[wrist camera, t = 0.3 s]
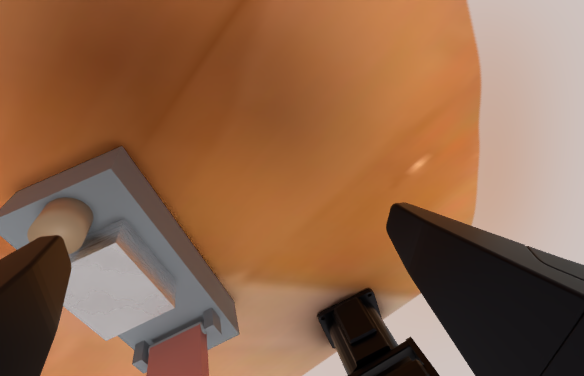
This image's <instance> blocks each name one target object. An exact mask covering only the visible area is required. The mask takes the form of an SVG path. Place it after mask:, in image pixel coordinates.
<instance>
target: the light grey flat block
mask: <svg viewBox="0 0 584 376" xmlns="http://www.w3.org/2000/svg"><path fill="white" fill-rule="evenodd" d="M69 257H70V261H71V274H70V278H69V283H68V287H67V291H66V295H65V299H64V304H63V306H64V307H65V308H66V309H67V310H69V311H70V312H71V313H72V314H74V315H75V316H76V317H77V318H79V319H80V320H81V321H82V322H83V323H85V324H86V325H87V326H88V327H90V328H91V329H92V330H93V331H94V332H96V333H97V334H98V335H99V336H101V337H102V338H103V339H104V340H106V341H107V340H109V339H111V338H113V337H115V336H118V335H120V334H122V333H124V332H126V331H128V330H130V329H132V328H134V327H136V326H138V325H140V324H143V323H145V322H147V321H149V320H151V319H153V318H155V317H157V316H159V315H161V314H163V313H165V312H168V311H170V310H172V309H174V308H175V295H176V280H175V279H174V278H173V277H172V275H171V274H170V273H169V272H168V271H167V269H166V268H165V267H164V266H163V265H162V263H161V262H160V261H159V260H158V259H157V257H156V256H155V255H154V254H153V253H152V251H151V250H150V249H149V248H148V247H147V245H146V244H145V243H144V242H143V241H142V239H141V238H140V237H139V236H138V235H137V234H136V232H135V231H134V230H133V229H132V228H131V226H130V225H129V224H128V223H127V222H126V220H125V219H124V218H122V219H120V220H118V221H116V222H114V223H111V224H109V225H107V226H105V227H103V228H100V229H98V230H96V231H94V232H92V233H89V234H87V235H86V238H85V240H84V242H83V244H82V246H81V247H80V248H79V249H78V250H77V251H75V252H74V253H71V254H69Z"/></svg>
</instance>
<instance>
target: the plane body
mask: <svg viewBox="0 0 584 376" xmlns="http://www.w3.org/2000/svg"><path fill="white" fill-rule="evenodd" d="M122 218H124V219H125V220H126V222H127V223H128V224H129V225H130V226H131V228H132V229H133V230H134V231H135V232H136V234H137V235H138V236H139V237H140V238H141V239H142V241H143V242H144V243H145V244H146V245H147V247H148V248H149V249H150V250H151V251H152V253H153V254H154V255H155V256H156V257H157V259H158V260H159V261H160V262H161V263H162V265H163V266H164V267H165V268H166V269H167V271H168V272H169V273H170V274H171V275H172V277H173V278H174V279H175V280H176V295H175V308H174V309H172V310H170V311H168V312H165V313H163V314H161V315H159V316H157V317H155V318H153V319H151V320H149V321H147V322H145V323H143V324H140V325H138V326H136V327H134V328H132V329H130V330H128V331H126V332H124V333H122V334H120V335H118V337H120V338H121V339H122V340H123V341H124V342H125V343H127V344H128V345H129V346H130V347H131V348H132V349H134V356H133V363H132V364H133V365H134V366H135V367H136V368H138V369H139V370H140V371H141V372H142V373H146V372H147V367H148V358H149V353H148V348H149V346H151V345H153V344H155V343H157V342H159V341H161V340H163V339H165V338H167V337H169V336H171V335H173V334H175V333H178V332H180V331H182V330H184V329H186V328H188V327H190V326H192V325H194V324H196V323H198V322H200V321H202V320H203V321H204V329H205V331H206V332H207V350H209V349H211V348H213V347H215V346H217V345H219V344H221V343H223V342H225V341H227V340H229V339H231V338H233V337H235V336H237V335H239V329H238V323H237V316H236V310H235V304H234V301H233V300H232V298H231V297H230V296H229V294H228V293H227V291H226V290H225V289H224V287H223V286H222V284H221V283H220V282H219V280H218V279H217V277H216V276H215V275H214V273H213V272H212V270H211V269H210V268H209V266H208V265H207V263H206V262H205V261H204V259H203V258H202V257H201V255H200V254H199V252H198V251H197V250H196V248H195V247H194V245H193V244H192V243H191V241H190V240H189V238H188V237H187V236H186V234H185V233H184V231H183V230H182V229H181V227H180V226H179V225H178V223H177V222H176V220H175V219H174V218H173V216H172V215H171V213H170V212H169V211H168V209H167V208H166V206H165V205H164V204H163V202H162V201H161V199H160V198H159V197H158V195H157V194H156V192H155V191H154V190H153V188H152V187H151V186H150V184H149V183H148V181H147V180H146V179H145V177H144V176H143V174H142V173H141V172H140V170H139V169H138V167H137V166H136V165H135V163H134V162H133V160H132V159H131V158H130V156H129V155H128V154H127V152H126V151H125V149H124V148H123V147H122V146H121V147H118V148H116V149H114V150H111V151H109V152H107V153H105V154H102V155H100V156H98V157H95V158H93V159H91V160H89V161H86V162H84V163H82V164H79V165H77V166H75V167H73V168H70V169H68V170H66V171H63V172H61V173H59V174H57V175H54V176H52V177H50V178H47V179H45V180H43V181H41V182H38V183H36V184H34V185H31V186H29V187H27V188H25V189H22V190H20V191H18V192H16V193H15V194H14V195H13V196H12V197H11V198H10V199H9V200H8V201H7V202H6V203H5V204H4V205H3V206H2V208H1V209H0V236H1V237H3V238H4V239H5V240H6V241H7V242H8V243H10V244H11V245H12V246H13V247H14V248H15V249H17V250H18V249H19V248H21V247H23V246H25V245H26V244H28V243H30V242H31V241H33V240H35V239H37V238H38V237H42V236H52V235H59V236H61V237H62V238H63V239H64V242H65V245H66V248H67V251H68V254H71V253H74V252H75V251H77V250H78V249H79V248H80V247H81V246H82V244H83V242H84V240H85V238H86V235H87V234H89V233H92V232H94V231H96V230H98V229H100V228H103V227H105V226H107V225H109V224H111V223H114V222H116V221H118V220H120V219H122Z"/></svg>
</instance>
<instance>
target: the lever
mask: <svg viewBox="0 0 584 376" xmlns="http://www.w3.org/2000/svg"><path fill="white" fill-rule="evenodd" d="M148 353H149V358H148V367H147V375H146V376H209V368H208V350H207V332H206V331H205V329H204V321H203V320H202V321H200V322H198V323H196V324H194V325H192V326H190V327H188V328H186V329H184V330H182V331H180V332H178V333H175V334H173V335H171V336H169V337H167V338H165V339H163V340H161V341H159V342H157V343H155V344H153V345H151V346H149V348H148Z"/></svg>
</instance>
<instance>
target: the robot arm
mask: <svg viewBox="0 0 584 376" xmlns="http://www.w3.org/2000/svg"><path fill="white" fill-rule="evenodd" d="M386 229H387V233H388V235H389V237H390V239H391V241H392V243H393V245H394V247H395V249H396V251H397V253H398V255H399V256H400V258H401V260H402V262H403V264H404V266H405V268H406V270H407V271H408V273H409V275H410V276H411V278H412V280H413V281H414V283H415V284H416V286H417V287H418V289H419V290H420V292H421V293H422V295H423V296H424V298H425V299H426V301H427V303H428V304H429V306H430V307H431V309H432V310H433V312H434V313H435V315H436V316H437V318H438V319H439V321H440V322H441V324H442V325H443V327H444V329H445V330H446V332H447V333H448V334H449V336H450V338H451V339H452V341H453V342H454V343H455V345H456V347H457V348H458V350H459V351H460V353H461V355H462V356H463V357H464V359H465V361H466V362H467V363H468V365H469V367H470V368H471V370H472V371H473V373H474V374H475V376H584V265H581V264H579V263H576V262H573V261H570V260H566V259H563V258H560V257H557V256H555V255H552V254H549V253H546V252H543V251H540V250H537V249H535V248H532V247H529V246H525V245H523V244H521V243H518V242H515V241H512V240H509V239H506V238H504V237H501V236H498V235H495V234H492V233H489V232H487V231H484V230H481V229H478V228H476V227H473V226H470V225H467V224H464V223H462V222H459V221H456V220H453V219H450V218H448V217H445V216H442V215H439V214H436V213H434V212H431V211H428V210H425V209H422V208H420V207H417V206H414V205H411V204H408V203H395V204H393V205H392V206H391V209H390V213H389V217H388V221H387V225H386ZM70 274H71V261H70V257H69V254H68V251H67V248H66V245H65V242H64V239H63V238H62V237H61V236H59V235H52V236H42V237H38V238H37V239H35V240H33V241H31V242H30V243H28V244H26V245H25V246H23V247H21V248H19V249H18V250H16V251H14V252H13V253H11V254H9V255H7V256H6V257H4V258H2V259H0V376H40V375H41V372H42V369H43V367H44V364H45V361H46V359H47V356H48V353H49V351H50V348H51V345H52V343H53V340H54V337H55V334H56V331H57V328H58V324H59V320H60V316H61V312H62V308H63V304H64V299H65V295H66V291H67V287H68V283H69V278H70ZM317 317H318V320H319V322H320V324H321V326H322V328H323V330H324V332H325V334H326V336H327V338H328V340H329V342H330V344H331V346H332V348H336V350H337V352H338V354H339V356H340V359H341V361H342V363H343V365H344V368H345V370H346V372H347V374H348V376H439V374H438V373H437V371H436V370H435V369H434V367H433V366H432V365H431V363H430V362H429V361H428V359H427V358H426V357H425V355H424V354H423V353H422V351H421V350H420V349H419V347H418V346H417V345H416V343H415V342H414V341H413V339H412V338H411V337H409V338H408V339H406V341H405V342H403V343H401V344H400V345H398V344H397V342H396V341H395V339H394V338H393V336H392V335H391V333H390V331H389V330H388V328H387V327H386V326H385V324H384V322H383V320H382V318H381V315H380V311H379V308H378V305H377V301H376V298H375V295H374V292H373V291H372V289H367V290H365V291H363V292H361V293H359V294H357V295H355V296H353V297H351V298H349V299H347V300H345V301H343V302H341V303H339V304H337V305H335V306H333V307H331V308H329V309H327V310H325V311H323V312H321V313H319V314H318V316H317Z"/></svg>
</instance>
